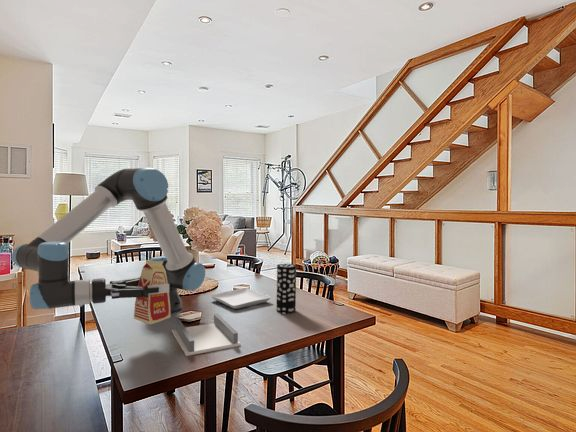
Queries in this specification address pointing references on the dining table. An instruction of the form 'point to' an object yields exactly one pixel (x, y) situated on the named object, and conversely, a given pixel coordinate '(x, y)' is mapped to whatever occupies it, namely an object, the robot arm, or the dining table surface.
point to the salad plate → (240, 298)
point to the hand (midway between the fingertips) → (166, 284)
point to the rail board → (205, 336)
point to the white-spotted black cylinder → (286, 288)
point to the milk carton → (152, 295)
